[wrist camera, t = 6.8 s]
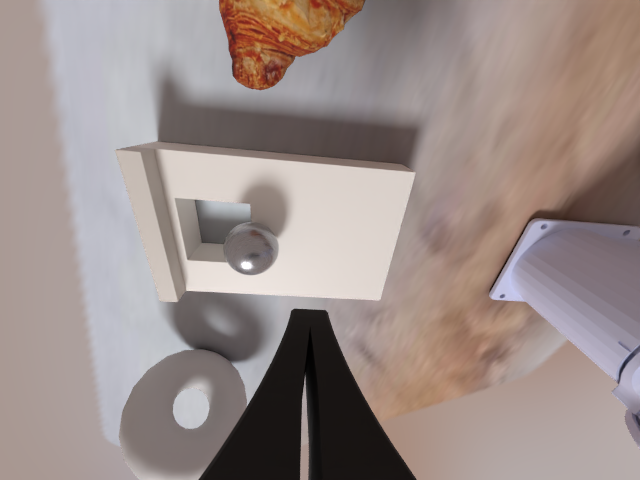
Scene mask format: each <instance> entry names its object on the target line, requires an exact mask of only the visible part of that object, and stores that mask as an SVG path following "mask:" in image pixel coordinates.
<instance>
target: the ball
mask: <svg viewBox="0 0 640 480" xmlns="http://www.w3.org/2000/svg"><path fill="white" fill-rule="evenodd" d="M223 252H224V257H225V259H226V261H227V263H228V264H229V266H230V267H231V268H232V269H234V270H235V271H237V272H239V273H241V274H244V275H258V274H261V273H263V272H265V271H267V270H268V269H269V268H270V267H272V265H273V264H274V263H275V261H276V259H277V257H278V252H279V244H278V240H277V238H276V236H275V234H274V233H273V231H272V230H271V229H269V228H268V227H267V226H265V225H263V224H261V223H257V222H246V223H242V224H239V225H238V226H236V227H234V228H233V229H232V230H231V231H230V232H229V233H228V235H227V236H226V239H225V241H224V246H223Z"/></svg>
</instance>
